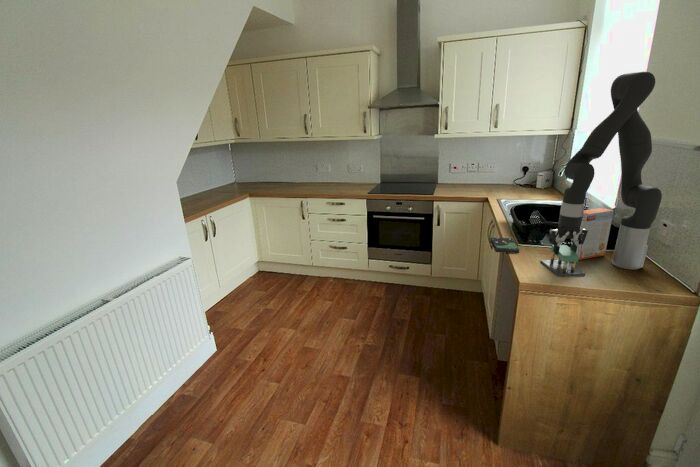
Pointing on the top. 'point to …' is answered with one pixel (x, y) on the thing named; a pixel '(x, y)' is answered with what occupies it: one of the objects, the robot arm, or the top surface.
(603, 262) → the top surface
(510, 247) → the disk drive
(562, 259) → the board
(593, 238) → the cracker box
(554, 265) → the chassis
